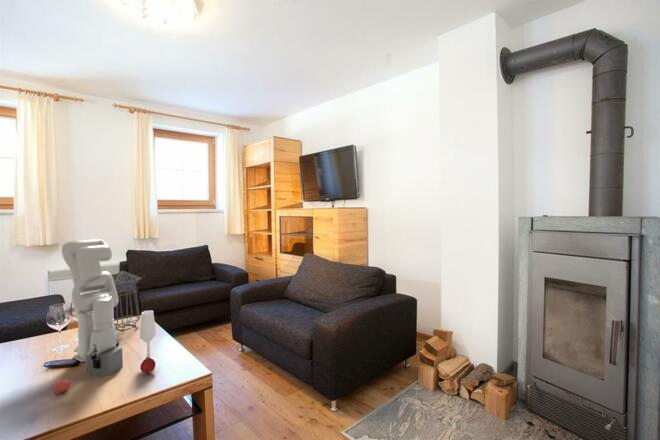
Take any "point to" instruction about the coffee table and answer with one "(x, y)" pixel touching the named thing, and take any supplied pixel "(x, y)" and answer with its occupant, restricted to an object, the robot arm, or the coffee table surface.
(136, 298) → the geometric lantern
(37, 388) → the coffee table surface
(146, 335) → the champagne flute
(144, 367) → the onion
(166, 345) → the coffee table surface
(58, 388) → the ball
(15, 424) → the coffee table surface
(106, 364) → the grey rectangular box
